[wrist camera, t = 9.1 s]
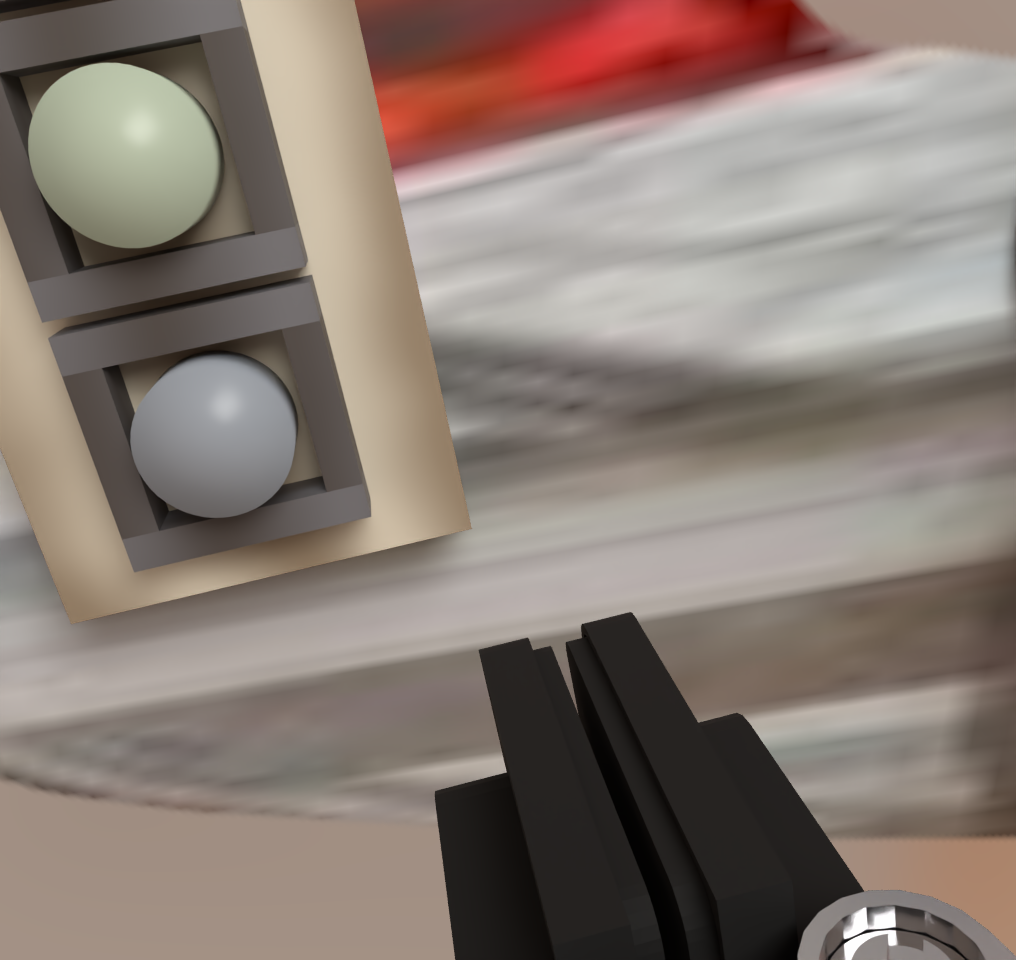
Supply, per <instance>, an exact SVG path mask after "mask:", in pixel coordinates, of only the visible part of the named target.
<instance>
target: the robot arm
mask: <svg viewBox="0 0 1016 960" xmlns="http://www.w3.org/2000/svg"><path fill="white" fill-rule="evenodd" d="M581 632H582V638H581V639H577V640H573V641H568V642H566V651H567V657H568V662H569V667H570V673H571V678H572V683H573V688H574V693H575V699H576V704H577V709H578V713H577V710H576V708H575V705H574V703H573V700H572V698H571V695H570V693H569V690H568V688H567V685H566V683H565V680H564V677H563V675H562V672H561V670H560V667H559V665H558V662H557V660H556V657H555V655H554V652H553V650H552V648H551V646H548V647H544V648H540V649H536V650H533V649H532V647H531V644H530V641H529V639H528V638H524V639H520V640H516V641H512V642H508V643H504V644H500V645H496V646H492V647H488V648H484V649H480V650H479V654H480V658H481V662H482V667H483V671H484V675H485V680H486V684H487V688H488V693H489V697H490V701H491V706H492V710H493V714H494V719H495V723H496V727H497V732H498V736H499V740H500V745H501V749H502V753H503V758H504V762H505V766H506V771H507V773H503V774H499V775H495V776H491V777H487V778H484V779H480V780H476V781H472V782H468V783H464V784H460V785H457V786H453V787H449V788H445V789H441V790H437V791H435V803H436V811H437V819H438V827H439V834H440V842H441V851H442V858H443V866H444V873H445V882H446V890H447V897H448V906H449V914H450V921H451V929H452V937H453V944H454V952H455V960H1016V956H1015V955H1014V954H1013V953H1012V952H1011V951H1010V950H1009V949H1008V948H1006V947H1005V946H1004V945H1003V944H1002V943H1001V942H1000V941H999V940H998V939H997V938H996V937H995V936H994V935H993V934H992V933H991V932H990V931H989V930H988V929H986V928H985V927H984V926H982V925H981V924H980V923H978V922H977V921H976V920H974V919H973V918H971V917H970V916H969V915H968V914H966V913H965V912H964V911H962V910H960V909H958V908H956V907H953V906H951V905H949V904H947V903H944V902H942V901H940V900H938V899H935V898H933V897H930V896H925V895H921V894H916V893H911V892H906V891H902V890H874V891H873V890H872V891H865V892H864V890H863V889H862V887H861V886H860V884H859V883H858V882H857V880H856V879H855V877H854V876H853V874H852V873H851V871H850V870H849V868H848V867H847V865H846V864H845V862H844V861H843V859H842V858H841V857H840V855H839V854H838V852H837V851H836V849H835V848H834V846H833V845H832V843H831V842H830V840H829V839H828V837H827V836H826V834H825V833H824V832H823V830H822V829H821V827H820V826H819V824H818V823H817V821H816V820H815V818H814V817H813V815H812V814H811V813H810V811H809V810H808V808H807V807H806V805H805V804H804V802H803V801H802V799H801V798H800V796H799V795H798V794H797V792H796V791H795V789H794V788H793V786H792V785H791V783H790V782H789V780H788V779H787V777H786V776H785V774H784V773H783V772H782V770H781V769H780V767H779V766H778V764H777V763H776V761H775V760H774V758H773V757H772V755H771V754H770V753H769V751H768V750H767V748H766V747H765V745H764V744H763V742H762V741H761V739H760V738H759V736H758V735H757V733H756V732H755V731H754V729H753V728H752V726H751V725H750V723H749V722H748V721H747V720H746V719H745V718H744V716H743V715H741V714H738V713H734V714H731V715H727V716H723V717H719V718H715V719H711V720H707V721H704V722H700V723H698V722H697V720H696V718H695V717H694V715H693V713H692V712H691V710H690V708H689V707H688V705H687V703H686V701H685V700H684V698H683V696H682V695H681V693H680V691H679V690H678V688H677V686H676V685H675V683H674V681H673V680H672V678H671V676H670V675H669V673H668V671H667V670H666V668H665V666H664V665H663V663H662V661H661V660H660V658H659V656H658V654H657V653H656V651H655V649H654V648H653V646H652V644H651V643H650V641H649V639H648V638H647V636H646V634H645V633H644V631H643V629H642V628H641V626H640V624H639V623H638V621H637V619H636V618H635V616H634V615H633V613H631V612H629V613H625V614H621V615H617V616H613V617H609V618H605V619H601V620H597V621H593V622H589V623H585V624H582V626H581ZM578 714H579V715H578Z"/></svg>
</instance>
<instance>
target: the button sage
mask: <svg viewBox="0 0 1016 960" xmlns="http://www.w3.org/2000/svg"><path fill="white" fill-rule="evenodd" d="M28 152H29V159H30V165H31V168H32V172H33V175H34V178H35V180H36V183H37V185H38V187H39V189H40V191H41V193H42V195H43V196H44V198H45V200H46V201H47V202H48V204H49V205H50V206H51V208H52V209H53V210H54V211H55V212H56V213H57V215H58V216H59V217H60V218H61V219H62V220H64V221H65V222H66V223H67V224H68V225H69V226H71V227H72V228H73V229H75V230H76V231H78V232H79V233H81V234H83V235H85V236H86V237H88V238H90V239H92V240H95V241H97V242H100V243H103V244H106V245H110V246H114V247H121V248H144V247H151V246H154V245H158V244H161V243H164V242H166V241H168V240H171V239H173V238H174V237H176V236H178V235H180V234H182V233H184V232H185V231H187V230H189V229H190V228H192V227H193V226H195V225H196V224H197V223H198V222H200V221H201V220H202V219H203V218H204V217H205V216H206V215H207V213H208V212H209V211H210V209H211V208H212V206H213V205H214V203H215V201H216V199H217V197H218V195H219V192H220V189H221V186H222V182H223V176H224V152H223V147H222V143H221V139H220V136H219V133H218V130H217V128H216V126H215V124H214V122H213V120H212V118H211V117H210V115H209V114H208V112H207V111H206V109H205V108H204V107H203V105H202V104H201V103H200V102H199V101H198V100H197V99H196V98H195V97H194V96H193V95H192V94H191V93H190V92H189V91H188V90H186V89H185V88H184V87H182V86H181V85H179V84H178V83H176V82H174V81H173V80H171V79H169V78H167V77H164V76H162V75H160V74H157V73H154V72H151V71H148V70H145V69H142V68H139V67H135V66H132V65H127V64H121V63H98V64H91V65H88V66H84V67H81V68H78V69H76V70H74V71H71V72H69V73H68V74H66V75H65V76H63V77H61V78H60V79H59V80H57V81H56V82H55V83H54V84H53V85H52V86H51V87H50V88H49V89H48V90H47V91H46V93H45V94H44V95H43V97H42V98H41V100H40V101H39V103H38V105H37V107H36V109H35V112H34V114H33V116H32V120H31V124H30V128H29V137H28Z"/></svg>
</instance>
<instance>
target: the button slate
mask: <svg viewBox="0 0 1016 960" xmlns="http://www.w3.org/2000/svg"><path fill="white" fill-rule="evenodd" d="M297 434H298V415H297V410H296V406H295V403H294V400H293V397H292V395H291V394H290V392H289V390H288V388H287V387H286V385H285V384H284V382H283V381H282V380H281V379H280V378H279V376H278V375H277V374H276V373H275V372H274V371H272V370H271V369H270V368H269V367H267V366H266V365H265V364H263V363H262V362H260V361H258V360H256V359H254V358H252V357H250V356H247V355H244V354H241V353H237V352H232V351H223V350H214V351H205V352H200V353H196V354H193V355H190V356H188V357H186V358H183V359H181V360H180V361H178V362H177V363H175V364H174V365H172V366H171V367H170V368H169V369H167V370H166V371H165V373H164V374H163V375H162V376H161V377H160V378H159V379H158V381H157V382H156V383H155V384H154V386H153V387H152V388H151V389H150V391H149V392H148V393H147V394H146V395H145V397H144V398H143V400H142V401H141V403H140V404H139V406H138V408H137V410H136V412H135V415H134V418H133V422H132V427H131V440H130V443H131V451H132V455H133V459H134V462H135V465H136V467H137V469H138V472H139V473H140V475H141V477H142V478H143V480H144V481H145V483H146V484H147V485H148V486H149V488H150V489H151V490H152V491H153V492H154V493H155V494H156V495H157V496H158V497H160V498H161V499H162V500H164V501H165V502H166V503H168V504H170V505H171V506H173V507H175V508H177V509H179V510H181V511H183V512H186V513H189V514H192V515H196V516H202V517H210V518H224V517H231V516H237V515H240V514H243V513H247V512H249V511H251V510H253V509H256V508H257V507H259V506H261V505H262V504H264V503H265V502H266V501H268V500H269V499H270V498H271V497H272V496H273V495H274V494H275V493H276V492H277V491H278V490H279V489H280V487H281V486H282V484H283V483H284V481H285V479H286V478H287V476H288V474H289V471H290V468H291V466H292V461H293V456H294V451H295V445H296V440H297Z"/></svg>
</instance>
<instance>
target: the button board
mask: <svg viewBox="0 0 1016 960" xmlns="http://www.w3.org/2000/svg"><path fill="white" fill-rule="evenodd" d="M98 63H121V64H127V65H132V66H135V67H139V68H142V69H145V70H148V71H151V72H154V73H157V74H160V75H162V76H164V77H167V78H169V79H171V80H173V81H174V82H176V83H178V84H179V85H181V86H182V87H184V88H185V89H186V90H188V91H189V92H190V93H191V94H192V95H193V96H194V97H195V98H196V99H197V100H198V101H199V102H200V103H201V104H202V105H203V107H204V108H205V109H206V111H207V112H208V114H209V115H210V117H211V118H212V120H213V122H214V124H215V126H216V128H217V130H218V133H219V136H220V139H221V143H222V147H223V152H224V176H223V182H222V186H221V189H220V192H219V195H218V197H217V199H216V201H215V203H214V205H213V206H212V208H211V209H210V211H209V212H208V213H207V215H206V216H205V217H204V218H203V219H202V220H201V221H200V222H198V223H197V224H196V225H195V226H193V227H192V228H190V229H189V230H187V231H185V232H184V233H182V234H180V235H178V236H176V237H174V238H173V239H171V240H168V241H166V242H164V243H161V244H158V245H154V246H151V247H144V248H121V247H114V246H110V245H106V244H103V243H100V242H97V241H95V240H92V239H90V238H88V237H86V236H85V235H83V234H81V233H79V232H78V231H76V230H75V229H73V228H72V227H71V226H69V225H68V224H67V223H66V222H65V221H64V220H62V219H61V218H60V217H59V216H58V215H57V213H56V212H55V211H54V210H53V209H52V208H51V206H50V205H49V204H48V202H47V201H46V200H45V198H44V196H43V195H42V193H41V191H40V189H39V187H38V185H37V183H36V180H35V178H34V175H33V172H32V168H31V165H30V159H29V152H28V137H29V128H30V124H31V120H32V116H33V114H34V112H35V109H36V107H37V105H38V103H39V101H40V100H41V98H42V97H43V95H44V94H45V93H46V91H47V90H48V89H49V88H50V87H51V86H52V85H53V84H54V83H55V82H56V81H57V80H59V79H60V78H61V77H63V76H65V75H66V74H68V73H69V72H71V71H74V70H76V69H78V68H81V67H84V66H88V65H91V64H98ZM214 350H223V351H232V352H237V353H241V354H244V355H247V356H250V357H252V358H254V359H256V360H258V361H260V362H262V363H263V364H265V365H266V366H267V367H269V368H270V369H271V370H272V371H274V372H275V373H276V374H277V375H278V376H279V378H280V379H281V380H282V381H283V382H284V384H285V385H286V387H287V388H288V390H289V392H290V394H291V395H292V397H293V400H294V403H295V406H296V410H297V415H298V434H297V440H296V445H295V451H294V456H293V461H292V466H291V468H290V471H289V474H288V476H287V478H286V479H285V481H284V483H283V484H282V486H281V487H280V489H279V490H278V491H277V492H276V493H275V494H274V495H273V496H272V497H271V498H270V499H269V500H268V501H266V502H265V503H264V504H262V505H261V506H259V507H257V508H256V509H253V510H251V511H249V512H247V513H243V514H240V515H237V516H231V517H224V518H210V517H202V516H196V515H192V514H189V513H186V512H183V511H181V510H179V509H177V508H175V507H173V506H171V505H170V504H168V503H166V502H165V501H164V500H162V499H161V498H160V497H158V496H157V495H156V494H155V493H154V492H153V491H152V490H151V489H150V488H149V486H148V485H147V484H146V483H145V481H144V480H143V478H142V477H141V475H140V473H139V472H138V469H137V467H136V465H135V462H134V459H133V455H132V451H131V443H130V440H131V427H132V422H133V418H134V415H135V412H136V410H137V408H138V406H139V404H140V403H141V401H142V400H143V398H144V397H145V395H146V394H147V393H148V392H149V391H150V389H151V388H152V387H153V386H154V384H155V383H156V382H157V381H158V379H159V378H160V377H161V376H162V375H163V374H164V373H165V371H166V370H167V369H169V368H170V367H171V366H172V365H174V364H175V363H177V362H178V361H180V360H181V359H183V358H186V357H188V356H190V355H193V354H196V353H200V352H205V351H214ZM0 449H1V451H2V454H3V456H4V459H5V461H6V464H7V466H8V469H9V471H10V474H11V476H12V479H13V481H14V483H15V486H16V488H17V491H18V493H19V496H20V498H21V501H22V503H23V506H24V508H25V511H26V513H27V516H28V518H29V521H30V523H31V526H32V528H33V531H34V533H35V535H36V538H37V540H38V543H39V545H40V548H41V550H42V553H43V555H44V558H45V560H46V563H47V565H48V568H49V570H50V573H51V575H52V578H53V580H54V583H55V585H56V587H57V590H58V592H59V595H60V597H61V600H62V602H63V605H64V607H65V610H66V612H67V615H68V617H69V620H70V622H71V624H74V623H78V622H82V621H86V620H90V619H95V618H99V617H103V616H107V615H111V614H116V613H120V612H124V611H128V610H132V609H137V608H141V607H145V606H149V605H153V604H158V603H162V602H166V601H170V600H174V599H179V598H183V597H187V596H191V595H195V594H200V593H204V592H208V591H212V590H216V589H221V588H225V587H229V586H233V585H237V584H242V583H246V582H250V581H254V580H259V579H263V578H267V577H271V576H275V575H280V574H284V573H288V572H292V571H296V570H301V569H305V568H309V567H313V566H317V565H322V564H326V563H330V562H334V561H338V560H343V559H347V558H351V557H355V556H359V555H364V554H368V553H372V552H376V551H380V550H385V549H389V548H393V547H397V546H401V545H406V544H410V543H414V542H418V541H422V540H427V539H431V538H435V537H439V536H443V535H448V534H452V533H456V532H460V531H464V530H469V529H472V528H471V523H470V519H469V514H468V510H467V505H466V501H465V496H464V492H463V487H462V483H461V478H460V474H459V469H458V465H457V460H456V456H455V451H454V447H453V442H452V438H451V433H450V429H449V424H448V420H447V415H446V411H445V406H444V402H443V397H442V393H441V388H440V384H439V379H438V375H437V370H436V366H435V362H434V357H433V353H432V348H431V344H430V339H429V335H428V330H427V326H426V321H425V317H424V312H423V308H422V303H421V299H420V294H419V290H418V285H417V281H416V276H415V272H414V267H413V263H412V258H411V254H410V249H409V245H408V240H407V236H406V231H405V227H404V222H403V218H402V213H401V209H400V204H399V200H398V195H397V191H396V186H395V182H394V177H393V173H392V168H391V164H390V159H389V155H388V150H387V146H386V141H385V137H384V132H383V128H382V123H381V119H380V114H379V110H378V105H377V101H376V96H375V92H374V87H373V83H372V78H371V74H370V69H369V65H368V60H367V56H366V51H365V47H364V42H363V38H362V33H361V29H360V24H359V20H358V15H357V11H356V6H355V2H354V0H0Z"/></svg>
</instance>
